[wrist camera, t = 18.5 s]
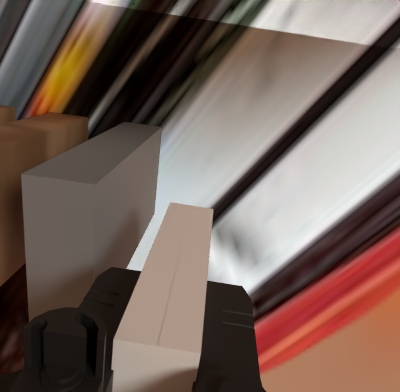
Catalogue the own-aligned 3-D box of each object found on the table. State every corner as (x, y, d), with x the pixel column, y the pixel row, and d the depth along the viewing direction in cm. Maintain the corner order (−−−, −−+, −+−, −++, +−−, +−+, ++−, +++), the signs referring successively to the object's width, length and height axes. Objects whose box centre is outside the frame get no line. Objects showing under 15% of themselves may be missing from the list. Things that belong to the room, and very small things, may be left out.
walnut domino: (53, 199, 20) (-95, 308, 11) (51, 112, 19) (-126, 154, 9) (87, 204, 20) (-33, 317, 11) (88, 117, 19) (-53, 164, 9)
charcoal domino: (120, 208, 20) (29, 326, 11) (124, 121, 19) (20, 174, 9) (154, 213, 20) (92, 335, 11) (161, 126, 19) (95, 184, 9)
